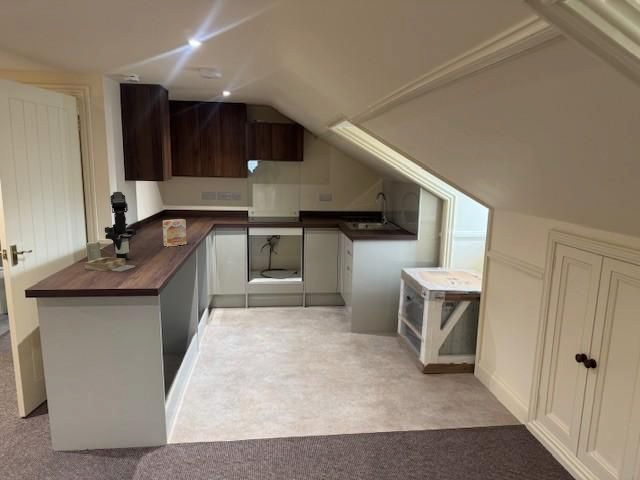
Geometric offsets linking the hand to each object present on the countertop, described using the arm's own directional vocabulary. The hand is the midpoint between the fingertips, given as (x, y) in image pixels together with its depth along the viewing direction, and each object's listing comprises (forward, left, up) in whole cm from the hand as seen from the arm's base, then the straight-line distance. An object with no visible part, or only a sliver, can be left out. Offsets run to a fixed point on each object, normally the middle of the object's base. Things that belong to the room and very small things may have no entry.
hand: (122, 249), depth 247 cm
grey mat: (0, 0, -12) cm, 12 cm away
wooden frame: (0, -12, -12) cm, 17 cm away
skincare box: (-10, -29, -12) cm, 33 cm away
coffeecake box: (-70, -12, -12) cm, 72 cm away
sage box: (0, 0, -2) cm, 2 cm away
